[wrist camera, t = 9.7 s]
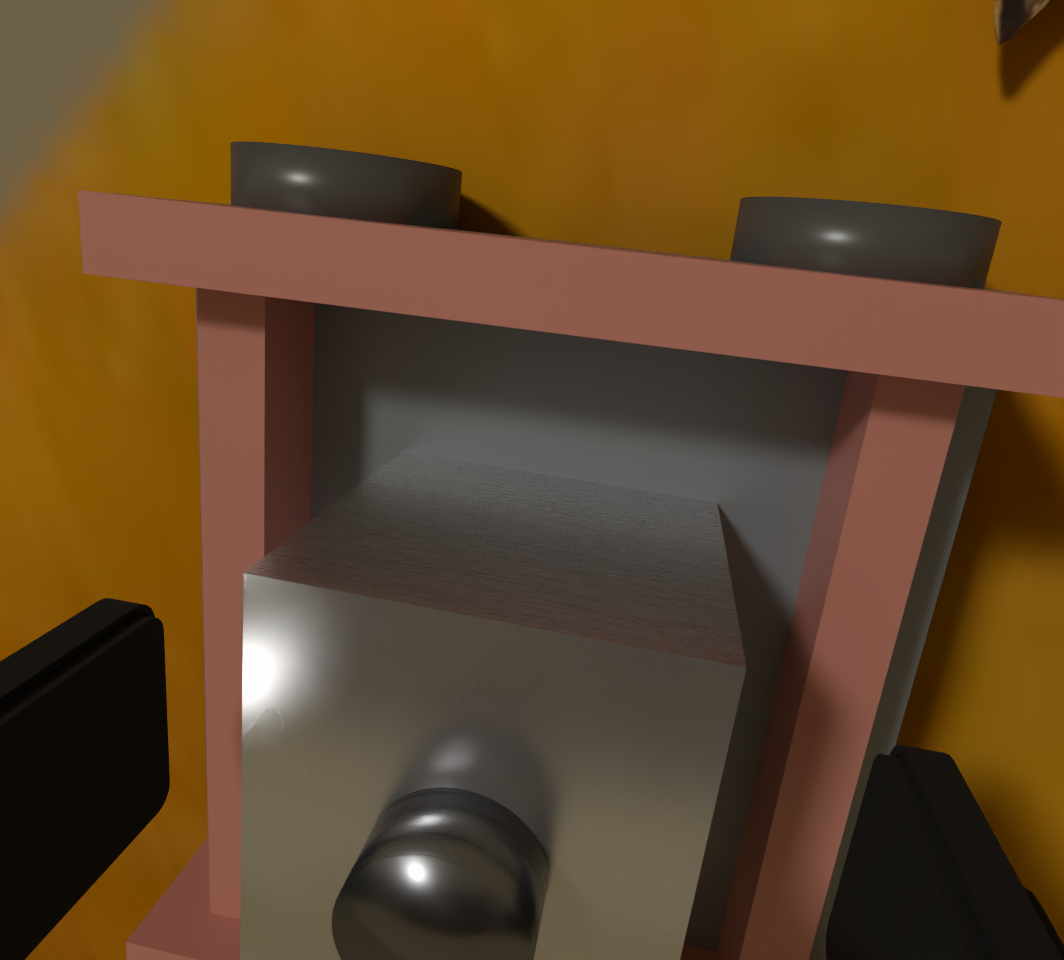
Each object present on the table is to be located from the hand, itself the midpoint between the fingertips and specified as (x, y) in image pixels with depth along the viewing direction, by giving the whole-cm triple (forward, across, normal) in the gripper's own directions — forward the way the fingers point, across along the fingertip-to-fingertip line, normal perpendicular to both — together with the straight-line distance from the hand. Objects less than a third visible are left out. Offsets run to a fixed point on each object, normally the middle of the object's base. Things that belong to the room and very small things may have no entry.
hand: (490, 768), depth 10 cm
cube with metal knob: (+3, 0, 0) cm, 3 cm away
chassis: (+6, 0, 0) cm, 6 cm away
